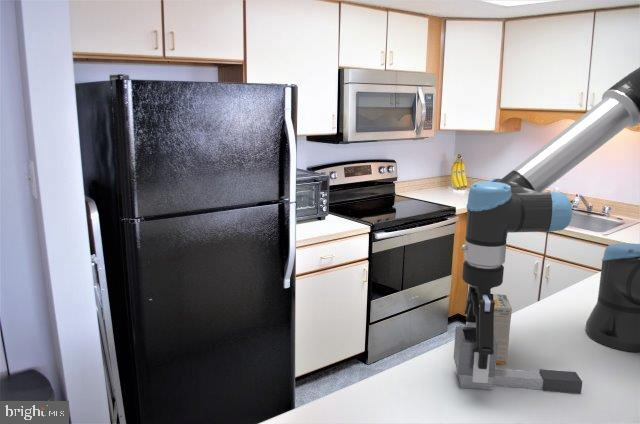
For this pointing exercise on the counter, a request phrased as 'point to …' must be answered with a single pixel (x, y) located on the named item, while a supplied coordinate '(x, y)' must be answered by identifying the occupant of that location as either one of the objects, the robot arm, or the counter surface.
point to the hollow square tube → (469, 352)
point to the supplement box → (502, 326)
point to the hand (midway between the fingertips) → (475, 365)
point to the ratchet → (528, 380)
